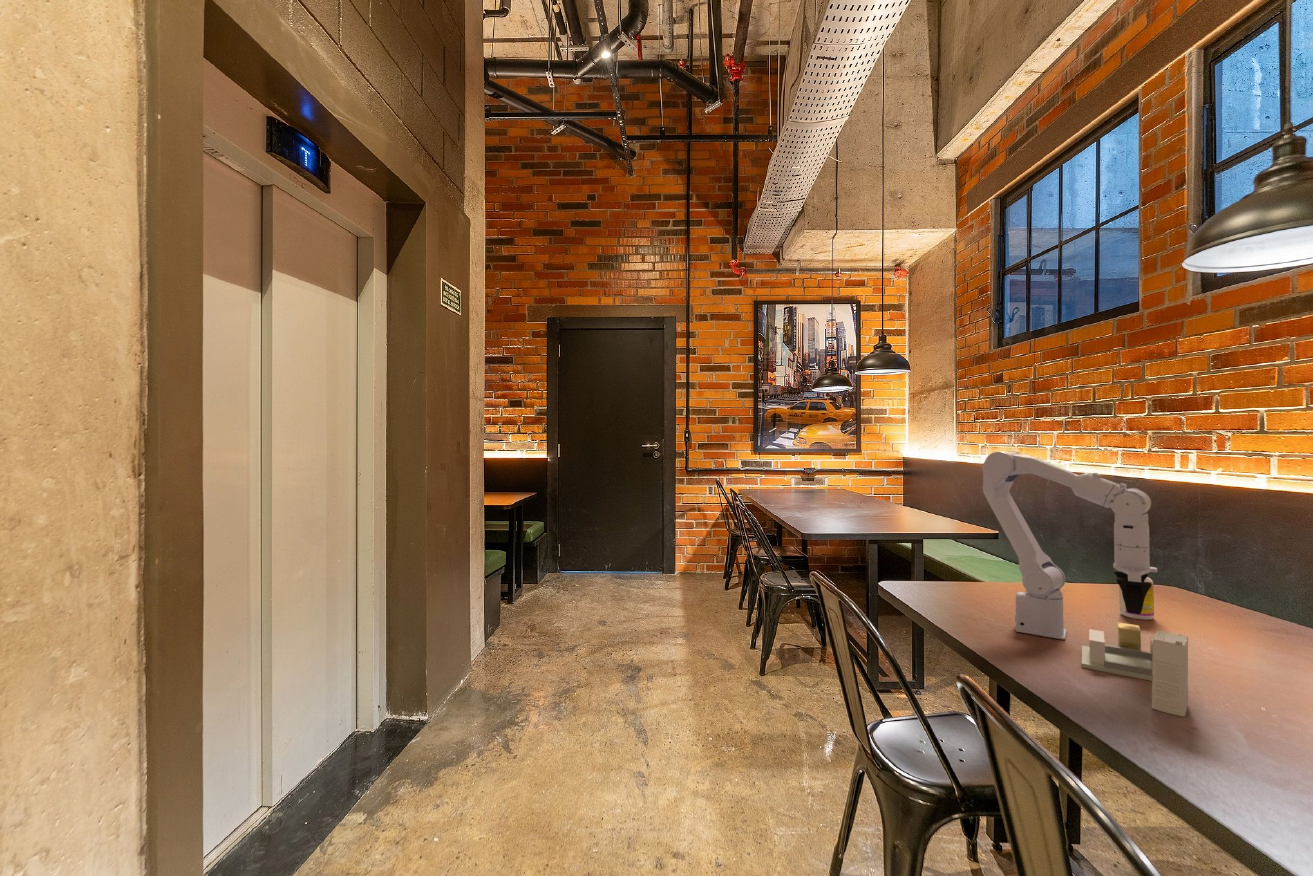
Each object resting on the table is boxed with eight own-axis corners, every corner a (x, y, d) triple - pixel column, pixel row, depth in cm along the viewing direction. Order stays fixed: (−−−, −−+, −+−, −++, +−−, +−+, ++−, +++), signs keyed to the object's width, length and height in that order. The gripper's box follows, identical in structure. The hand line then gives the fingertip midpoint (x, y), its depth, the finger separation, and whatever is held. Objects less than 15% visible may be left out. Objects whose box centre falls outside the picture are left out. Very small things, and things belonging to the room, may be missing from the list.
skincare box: (1154, 697, 96) (1153, 629, 96) (1190, 706, 93) (1188, 635, 93) (1151, 709, 92) (1149, 638, 92) (1188, 719, 89) (1186, 644, 89)
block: (1119, 653, 116) (1118, 627, 116) (1118, 647, 120) (1117, 622, 120) (1141, 657, 114) (1140, 631, 114) (1139, 651, 118) (1138, 625, 118)
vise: (1081, 667, 109) (1081, 641, 109) (1082, 649, 119) (1081, 625, 119) (1177, 686, 101) (1177, 657, 101) (1169, 664, 110) (1169, 639, 110)
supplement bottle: (1160, 621, 136) (1159, 570, 136) (1130, 620, 137) (1129, 569, 138) (1142, 613, 143) (1141, 564, 143) (1113, 611, 144) (1112, 563, 144)
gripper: (1160, 553, 109) (1161, 621, 109) (1153, 542, 120) (1153, 603, 120) (1114, 549, 113) (1115, 614, 113) (1111, 538, 124) (1112, 598, 124)
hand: (1132, 608), depth 117 cm, fingers open, 7 cm apart
